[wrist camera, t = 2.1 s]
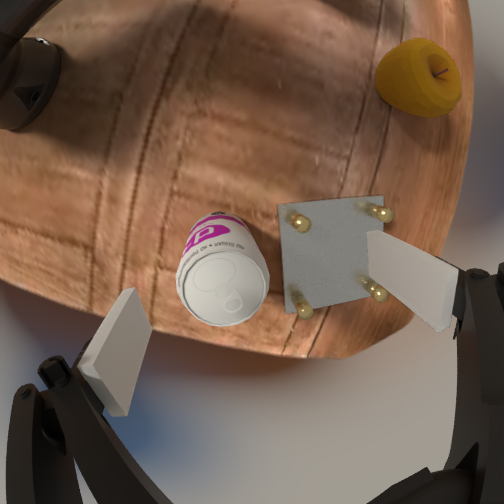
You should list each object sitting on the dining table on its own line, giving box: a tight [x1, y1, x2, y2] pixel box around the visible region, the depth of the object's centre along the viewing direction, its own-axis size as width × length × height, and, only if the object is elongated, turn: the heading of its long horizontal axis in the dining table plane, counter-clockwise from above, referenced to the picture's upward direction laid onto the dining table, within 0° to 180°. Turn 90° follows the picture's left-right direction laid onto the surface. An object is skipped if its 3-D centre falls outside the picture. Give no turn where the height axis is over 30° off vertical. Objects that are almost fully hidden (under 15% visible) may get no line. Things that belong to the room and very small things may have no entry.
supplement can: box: [176, 211, 270, 327], centre depth 30 cm, size 8×8×15 cm
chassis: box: [277, 195, 394, 320], centre depth 37 cm, size 16×16×5 cm
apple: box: [375, 38, 461, 118], centre depth 27 cm, size 11×11×13 cm
